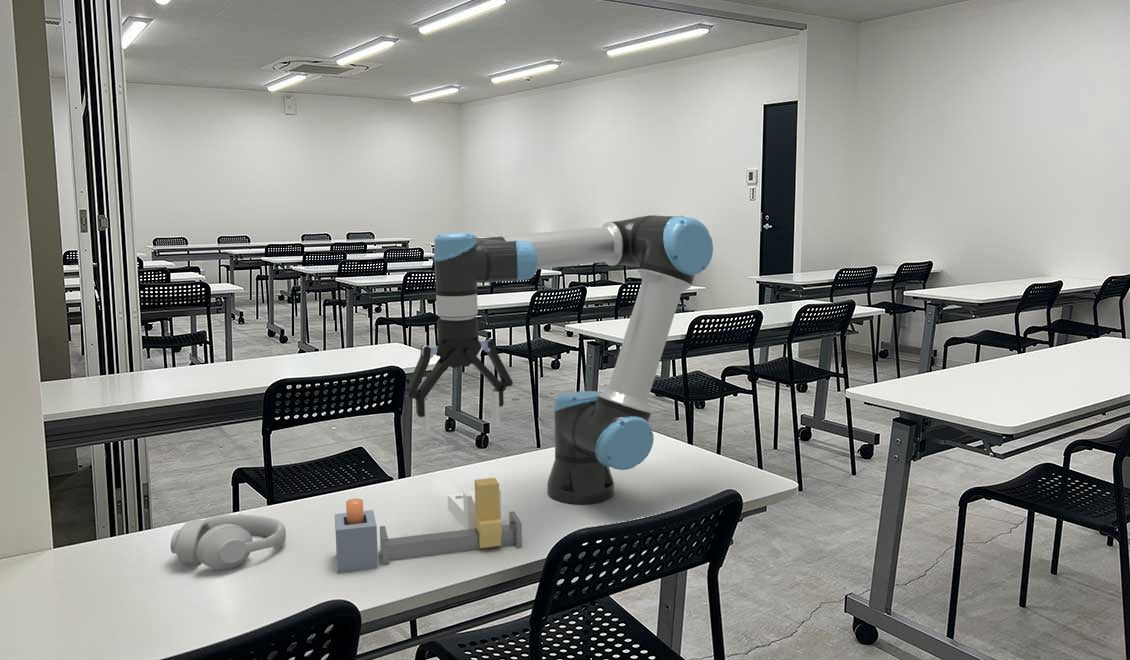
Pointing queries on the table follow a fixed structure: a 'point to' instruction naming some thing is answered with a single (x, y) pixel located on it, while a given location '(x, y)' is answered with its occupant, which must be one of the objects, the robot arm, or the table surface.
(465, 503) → the bracket
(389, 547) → the rail
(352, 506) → the plunger
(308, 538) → the table surface
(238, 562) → the headphones
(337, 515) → the housing
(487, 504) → the carriage
